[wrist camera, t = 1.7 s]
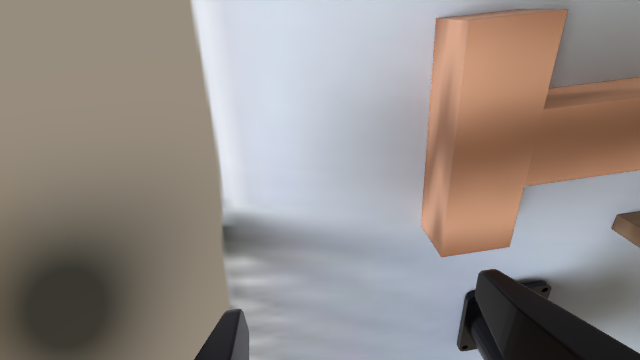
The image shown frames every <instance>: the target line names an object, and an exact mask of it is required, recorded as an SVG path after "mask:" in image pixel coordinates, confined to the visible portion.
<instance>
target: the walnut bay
mask: <svg viewBox="0 0 640 360" xmlns="http://www.w3.org/2000/svg"><path fill="white" fill-rule="evenodd" d="M612 230H614V231H615V232H617V233H619V234H620V235H622V236H623V237H625V238H626V239H628V240H629V241H631V242H632V243H634V244H635V245H637V246H638V247H640V212H634V213H627V214H621V215H617V217H616V220H615V222H614V224H613V227H612Z"/></svg>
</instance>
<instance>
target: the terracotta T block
mask: <svg viewBox="0 0 640 360" xmlns="http://www.w3.org/2000/svg"><path fill="white" fill-rule="evenodd" d="M567 12H568V10H557V9H517V10H508V11H499V12H490V13H481V14H472V15H463V16H454V17H445V18H436V27H435V41H434V54H433V68H432V82H431V95H430V109H429V123H428V136H427V150H426V164H425V177H424V191H423V205H422V219H421V227H422V228H423V230H424V231H425V233H426V234H427V236H428V237H429V239H430V240H431V242H432V244H433V245H434V247H435V248H436V250H437V251H438V253H439V254H440V256H441V257H446V256H453V255H460V254H466V253H473V252H479V251H486V250H493V249H499V248H506V247H510V243H511V239H512V235H513V231H514V227H515V222H516V218H517V214H518V210H519V206H520V202H521V198H522V194H523V190H524V186H531V185H538V184H545V183H552V182H559V181H566V180H573V179H580V178H587V177H594V176H602V175H609V174H616V173H623V172H630V171H637V170H640V77H637V78H629V79H621V80H613V81H605V82H597V83H589V84H581V85H573V86H565V87H557V88H549V85H550V81H551V77H552V72H553V68H554V64H555V60H556V56H557V52H558V48H559V44H560V40H561V36H562V32H563V28H564V24H565V20H566V16H567Z"/></svg>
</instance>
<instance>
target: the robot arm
mask: <svg viewBox="0 0 640 360" xmlns="http://www.w3.org/2000/svg"><path fill="white" fill-rule="evenodd" d="M550 291H551V286H550V285H549V284H548V283H547V282H545V281H541V282H535V283H529V284H520V283H519V282H517V281H515V280H514V279H512V278H510V277H509V276H507V275H505V274H503V273H502V272H500V271H498V270H496V269H490V270H484V271H481V272H480V273H479V275H478V279H477V284H476V289H475V292H472V293H469V294H468V295H467V296H466V297H465V301H464V307H463V312H462V318H461V323H460V329H459V335H458V340H457V346H458V348H459V350H460V351H468V350H474V349H478V350H479V352H480V354H481V356H482V357H483V359H484V360H640V354H639V353H638V352H636V351H634V350H633V349H631V348H629V347H628V346H626V345H624V344H622V343H621V342H619V341H617V340H616V339H614V338H612V337H611V336H609V335H607V334H605V333H604V332H602V331H600V330H599V329H597V328H595V327H594V326H592V325H590V324H588V323H587V322H585V321H583V320H582V319H580V318H578V317H577V316H575V315H573V314H571V313H570V312H568V311H566V310H565V309H563V308H561V307H560V306H558V305H556V304H554V303H553V302H551V301H549V300H548V296H549V293H550ZM194 360H249V330H248V326H247V323H246V320H245V316H244V313H243V311H242V310H241V309H234V310H228V311H226V312H225V313H224V314H223V316H222V317H221V319H220V320H219V322H218V323H217V325H216V327H215V328H214V330H213V331H212V333H211V334H210V336H209V337H208V339H207V340H206V342H205V344H204V345H203V347H202V348H201V350H200V351H199V353H198V354H197V356H196V357H195V359H194Z"/></svg>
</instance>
